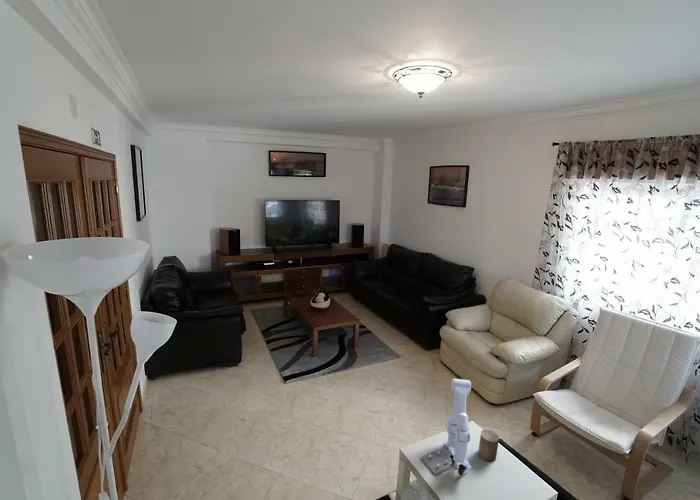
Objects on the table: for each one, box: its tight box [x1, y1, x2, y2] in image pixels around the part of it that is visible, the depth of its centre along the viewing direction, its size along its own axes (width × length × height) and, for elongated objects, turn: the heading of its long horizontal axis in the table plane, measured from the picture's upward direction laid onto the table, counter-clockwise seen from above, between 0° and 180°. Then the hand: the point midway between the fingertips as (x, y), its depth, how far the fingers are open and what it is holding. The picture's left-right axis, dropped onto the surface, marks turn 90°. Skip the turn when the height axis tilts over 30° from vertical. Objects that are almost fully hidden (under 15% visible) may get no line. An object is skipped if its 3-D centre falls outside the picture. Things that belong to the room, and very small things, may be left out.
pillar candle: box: [477, 428, 500, 463], centre depth 198 cm, size 10×10×15 cm
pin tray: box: [420, 448, 452, 476], centre depth 193 cm, size 14×12×3 cm
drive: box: [447, 461, 469, 480], centre depth 187 cm, size 10×4×6 cm, turn 117°
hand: (457, 471), depth 187 cm, fingers open, 4 cm apart
